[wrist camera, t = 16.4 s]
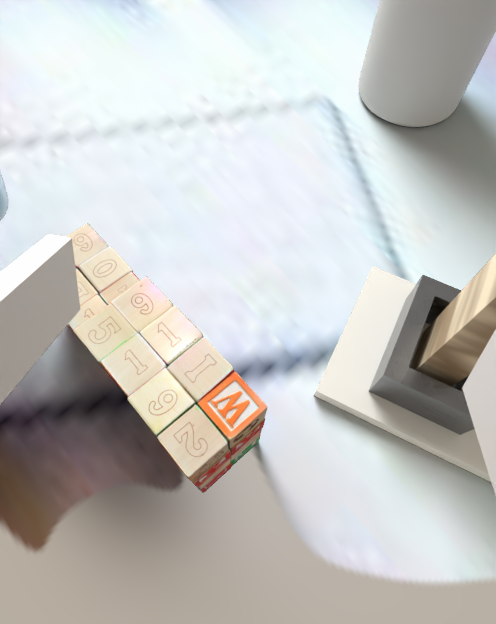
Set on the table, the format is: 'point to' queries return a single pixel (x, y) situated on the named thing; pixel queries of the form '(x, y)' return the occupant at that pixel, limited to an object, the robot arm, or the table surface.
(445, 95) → the cylinder vase
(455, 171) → the table surface
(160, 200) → the table surface
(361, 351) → the base board
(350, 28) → the table surface
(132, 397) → the stack of blocks
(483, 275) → the ash slat
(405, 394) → the grey rectangular socket
